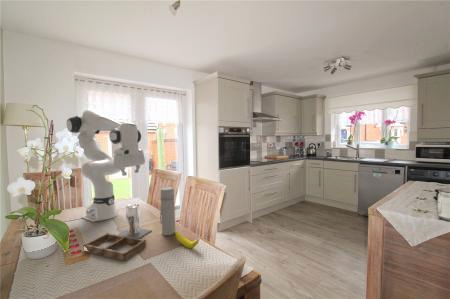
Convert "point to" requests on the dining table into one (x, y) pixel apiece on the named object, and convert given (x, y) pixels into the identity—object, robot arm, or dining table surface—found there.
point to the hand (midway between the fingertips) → (130, 174)
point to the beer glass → (133, 218)
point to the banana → (186, 241)
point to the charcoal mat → (138, 236)
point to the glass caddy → (115, 246)
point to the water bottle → (167, 211)
